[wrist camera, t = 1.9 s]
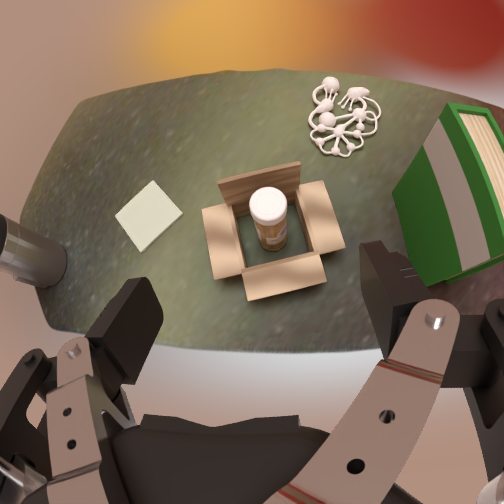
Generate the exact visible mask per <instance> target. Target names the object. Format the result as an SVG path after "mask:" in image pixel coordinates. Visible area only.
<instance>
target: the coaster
mask: <svg viewBox="0 0 504 504" xmlns="http://www.w3.org/2000/svg"><path fill="white" fill-rule="evenodd" d="M183 215H184V214H183V213H182V212H181V211H180V210H179V209H178V208H177V206H176V205H175V204H174V203H173V202H172V201H171V200H170V199H169V198H168V196H167V195H166V194H165V193H164V192H163V191H162V190H161V189H160V187H159V186H158V185H157V184H156V183H155V182H154V181H151V182H150V183H149V184H148V185H147V186H146V187H145V188H144V189H143V190H142V191H140V192H139V193H138V194H137V195H136V196H135V197H134V198H133V199H132V200H131V201H130V202H129V203H128V204H127V205H126V206H125V207H123V208H122V209H121V210H120V211H119V212H118V213H117V214H116V215H115V217H116V218H117V220H118V221H119V222H120V224H121V225H122V227H123V228H124V230H125V231H126V232H127V234H128V235H129V237H130V238H131V240H132V241H133V242H134V244H135V245H136V246H137V248H138V249H139V251H140V252H141V253H143V252H144V251H145V250H146V249H147V248H148V247H149V246H150V245H151V244H152V243H153V242H154V241H155V240H156V239H158V238H159V237H160V236H161V235H162V234H163V233H164V232H165V231H166V230H167V229H168V228H169V227H170V226H172V225H173V224H174V223H175V222H176V221H177V220H178V219H179V218H180V217H181V216H183Z"/></svg>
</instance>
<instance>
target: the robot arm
mask: <svg viewBox="0 0 504 504" xmlns="http://www.w3.org/2000/svg"><path fill="white" fill-rule="evenodd" d="M359 251H360V277H361V290H362V295H363V298H364V301H365V304H366V307H367V310H368V312H369V315H370V318H371V321H372V324H373V327H374V330H375V333H376V336H377V339H378V342H379V345H380V348H381V351H382V354H383V358H384V360H383V359H382V360H380V361H379V362H378V364H377V365H376V367H375V368H374V370H373V372H372V373H371V375H370V377H369V378H368V380H367V382H366V383H365V385H364V386H363V388H362V389H361V391H360V393H359V394H358V396H357V397H356V399H355V401H354V402H353V403H352V405H351V406H350V408H349V409H348V410H347V412H346V413H345V415H344V416H343V418H342V419H341V420H340V422H339V424H338V425H337V426H336V427H335V429H334V430H333V431H332V433H331V434H330V433H328V432H325V431H322V430H319V429H314V428H310V427H304V426H301V425H300V420H299V415H293V416H281V417H265V418H254V419H250V420H245V421H242V422H237V423H232V424H228V425H223V426H218V427H208V426H205V425H201V424H198V423H194V422H191V421H187V420H184V419H181V418H178V417H171V416H158V415H148V414H144V416H143V419H142V421H141V424H140V425H137V424H136V422H135V419H134V416H133V413H132V411H131V408H130V405H129V402H128V399H127V396H126V393H125V391H124V390H123V389H122V387H121V384H131V385H135V383H136V381H137V378H138V376H139V374H140V372H141V369H142V367H143V365H144V362H145V360H146V358H147V356H148V354H149V351H150V349H151V347H152V345H153V343H154V341H155V338H156V336H157V334H158V332H159V330H160V328H161V326H162V323H163V310H162V307H161V305H160V303H159V301H158V299H157V296H156V294H155V292H154V290H153V288H152V285H151V283H150V281H149V280H148V278H146V277H140V278H133V279H128V280H127V281H126V282H125V284H124V285H123V286H122V288H121V289H120V290H119V292H118V293H117V294H116V296H115V297H113V298H112V299H111V300H110V301H109V303H108V304H107V305H106V307H105V308H104V310H103V311H102V312H101V314H100V317H98V318H97V319H96V321H95V322H94V324H93V325H92V327H91V328H90V329H89V331H88V332H87V334H86V335H85V337H77V338H74V339H72V340H70V341H68V342H67V343H66V344H64V346H62V348H61V349H60V350H59V353H58V355H57V356H56V357H52V358H47V357H46V355H45V354H44V352H43V351H42V350H41V349H33V350H31V351H29V352H28V353H26V354H25V355H24V356H23V357H22V358H21V360H20V361H19V363H18V364H17V366H16V367H15V369H14V370H13V372H12V373H11V375H10V376H9V378H8V379H7V381H6V383H5V384H4V386H3V388H2V389H1V391H0V504H422V503H421V502H419V501H418V500H417V499H415V498H414V497H412V496H411V495H410V494H409V493H407V492H406V491H405V490H404V489H402V488H401V487H400V486H398V485H397V484H396V483H395V480H396V478H397V477H398V475H399V473H400V472H401V470H402V468H403V466H404V465H405V463H406V461H407V459H408V457H409V455H410V454H411V452H412V450H413V448H414V446H415V444H416V442H417V440H418V438H419V435H420V434H421V431H422V429H423V427H424V425H425V423H426V421H427V418H428V416H429V414H430V411H431V409H432V406H433V404H434V402H435V399H436V396H437V394H438V391H439V389H440V388H463V390H464V393H465V396H466V399H467V402H468V405H469V407H470V411H471V414H472V417H473V420H474V424H475V427H476V431H477V434H478V438H479V441H480V445H481V449H482V454H483V458H484V462H485V467H486V471H487V476H488V481H489V482H488V483H487V484H486V485H485V487H484V488H483V489H482V491H481V492H480V494H479V496H478V499H477V502H476V504H504V299H495V300H493V301H491V302H490V303H488V305H487V306H486V309H485V312H484V315H459V312H458V311H457V309H456V308H455V307H454V306H453V305H452V304H450V303H448V302H446V301H443V300H438V299H434V297H433V296H432V294H431V293H430V291H429V290H428V288H427V287H426V285H425V284H424V282H423V280H422V279H421V278H420V276H419V275H418V273H417V272H416V270H415V269H414V268H413V266H412V264H411V263H410V262H409V260H408V259H407V258H406V257H404V256H403V255H401V254H399V253H398V252H392V253H389V252H388V250H387V249H386V247H385V246H384V244H383V243H382V241H380V240H379V241H373V242H366V243H361V244H360V247H359ZM66 263H67V256H66V252H65V249H64V248H63V246H61V245H60V244H58V243H56V242H55V241H52V240H50V239H48V238H46V237H44V236H42V235H40V234H38V233H36V232H34V231H32V230H30V229H28V228H26V227H24V226H22V225H20V224H18V223H16V222H15V221H13V220H11V219H9V218H7V217H5V216H3V215H1V214H0V271H2V272H5V273H8V274H11V275H13V278H14V279H15V280H16V281H20V282H23V283H26V284H30V285H33V286H37V287H40V288H44V289H46V288H47V287H48V286H53V285H55V284H56V283H58V282H59V281H60V279H61V278H62V276H63V274H64V272H65V269H66ZM35 393H37V394H38V395H39V396H40V397H41V398H42V400H43V401H44V402H45V403H46V405H47V409H46V411H45V413H44V415H43V417H42V419H41V421H40V423H39V425H38V427H37V429H36V428H35V427H34V426H33V425H32V424H30V423H29V421H28V419H27V417H26V411H27V408H28V406H29V404H30V403H31V401H32V399H33V397H34V395H35Z"/></svg>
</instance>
